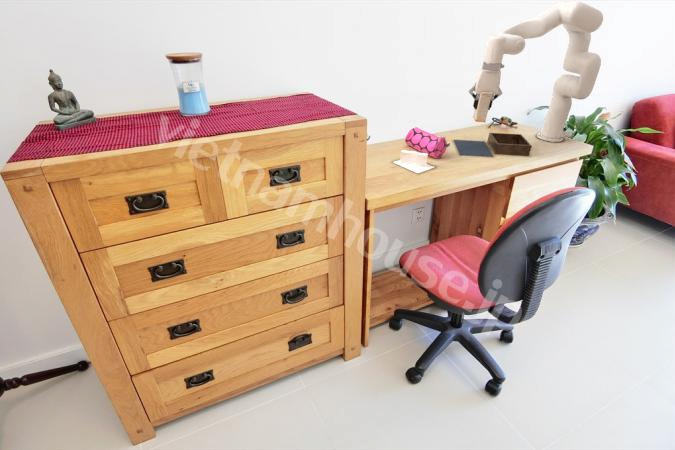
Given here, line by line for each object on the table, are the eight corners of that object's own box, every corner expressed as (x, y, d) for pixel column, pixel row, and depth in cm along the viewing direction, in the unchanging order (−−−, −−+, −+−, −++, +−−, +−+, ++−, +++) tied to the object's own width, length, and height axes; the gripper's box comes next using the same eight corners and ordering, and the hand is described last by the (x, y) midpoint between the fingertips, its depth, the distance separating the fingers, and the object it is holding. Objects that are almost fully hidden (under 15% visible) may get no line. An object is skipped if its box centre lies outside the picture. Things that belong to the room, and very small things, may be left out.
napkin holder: (392, 162, 166) (393, 150, 163) (409, 156, 172) (411, 144, 169) (417, 173, 156) (419, 160, 153) (435, 167, 162) (437, 154, 159)
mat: (483, 142, 190) (483, 141, 190) (492, 156, 173) (493, 156, 173) (453, 140, 191) (454, 139, 191) (460, 155, 174) (460, 154, 174)
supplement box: (485, 122, 171) (492, 93, 164) (474, 121, 171) (481, 92, 164) (483, 117, 177) (489, 89, 170) (472, 116, 178) (479, 88, 171)
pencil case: (448, 156, 173) (452, 135, 167) (434, 160, 168) (437, 139, 162) (415, 142, 187) (418, 123, 182) (401, 146, 182) (403, 126, 177)
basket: (518, 143, 188) (521, 134, 186) (528, 156, 174) (532, 145, 172) (487, 142, 190) (489, 132, 187) (494, 154, 176) (497, 144, 173)
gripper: (508, 66, 164) (498, 107, 174) (469, 64, 166) (461, 105, 176) (513, 69, 158) (502, 112, 168) (472, 67, 160) (464, 110, 169)
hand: (481, 108), depth 172 cm, fingers closed on supplement box, 5 cm apart
